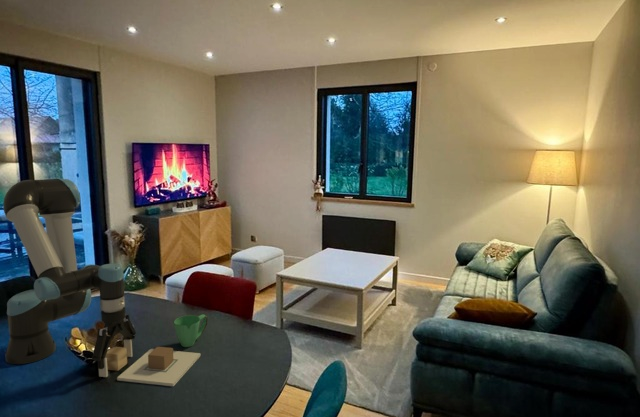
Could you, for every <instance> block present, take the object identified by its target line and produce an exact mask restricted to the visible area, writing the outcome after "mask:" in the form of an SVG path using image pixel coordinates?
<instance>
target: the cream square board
mask: <svg viewBox="0 0 640 417" xmlns="http://www.w3.org/2000/svg"><path fill="white" fill-rule="evenodd" d="M200 357H201V353H200V352H190V351H189V352H188V351H181V350H178V351H177V350H174V348H173V347H165V346H156V347H155V348H150V349H149V350H148V351H146V352H145V353H144V354H142V356H141V357H140V358H138V359H137V360H135V361H134V363H133V364H132V365H130V366H129V367H128V368H126V369H125V370H124V371H123V372H122V373H121V374H119V375H118V376H117V377H116V380H117V381H120V382H129V383H140V384H147V385H158V386H165V387H174V386H175V385H176V384H177V383H178V382H179V381H180V380H181V379H182V377H183V376H184V375H185V374H186V373H187V372H188V371H189V369H190V368H192V366H193V365H194V364H195V362H197V361H198V360H199V358H200Z"/></svg>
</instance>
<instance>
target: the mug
mask: <svg viewBox="0 0 640 417" xmlns="http://www.w3.org/2000/svg"><path fill="white" fill-rule="evenodd" d="M201 321H202V323H201ZM173 326H174V329H175V333H176V336H177V338H178V341H179V343H180V346H181V347H184V348H190V347H193V346H194V345H195V342H196V340H197V339H198V338H199V337H200V336H201V335H202V334H203V333H204V331H205V329H206V328H207V326H208V316H206V315H205V314H200V315H194V314H193V315H190V314H188V315H182V316H179V317H177V318H175V320H174V321H173Z"/></svg>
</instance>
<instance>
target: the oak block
mask: <svg viewBox="0 0 640 417" xmlns="http://www.w3.org/2000/svg"><path fill="white" fill-rule="evenodd" d="M105 358H107V369H108V370H109V371H120V370H121V369H122V368H123V367H125V366H126V365H127V364H128V357H127V349H126V348H124V346H123V347H122V346H112V347H111V348H110V349H108V351H107V353H106V356H105Z"/></svg>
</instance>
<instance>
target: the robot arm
mask: <svg viewBox="0 0 640 417" xmlns="http://www.w3.org/2000/svg"><path fill="white" fill-rule="evenodd" d="M4 195H5V196H4V198H3V202H2V206H3V213H4V215H5V217H6V220H8V221H9V222H12V223H13V226H14V228H15V230H16V233H17V235H18V237H19V239H20V241H21V243H22V245H23V247H24V249H25V251H26V254H27V256H28V258H29V260H30V262H31V263H30V264H31V265H32V267H33V269H34V271H35V274H36V275H37V279H35V281H34V283H33V289H28V290H25V291H22V292H18V293H16V294H15V295H13V296H12V297H11V298H9V299H8V301H7V303H6V308H7V309H6V315H7V321H8V334H9V341H8V345H7V348H6V351H5V354H4V356H5V357H4V358H5V362H6V363H8V364H11V365H25V364H26V365H27V364H29V363H35V362H37V361H41V360H44V359H45V358H47V357H49V356H52V354H53V353H55V351H56V346H57V345H56V342H55V340H54V339H53V336H52V334H51V332H50V330H49V323H51V322H55V321H58V320H61V319H64V318H67V317H71V316H76V315H79V314H80V313H82V312H86V311H87V309H88V308H89V307H90V305H91V302H92V290H91V289H96V290H99V302H100V311H101V312H100V314H101V315H100V316H101V318H100V319H101V322H102V323H103V324H104V326H103V328H98V329H97V332H96V333H97V334H96V335H97V336H96V341H95V345H94V348H93V353H92V357H91V360H92V361H97V369H98V377H100V378H101V377H103V378H107V377H108V376H109V371H108V369H107V358H105V356H106V353H107V351H108V350H109V347H110V346H111V343H112V340H114V338H115V336H116V335H118V334H120V335H121V336H122V337H124V339H123V347H124V348H126V349H127V358H132V357H133V356H134V355H133V340H134V339H135V338H136V336H135V335H136V334H137V332H136V330H135V327H134V326H133V324H132V322H131V319H130V314H126V307H125V306H126V302H125V301H126V299H125V279H124V278H125V274H124V267H123V266H122V264H121V263H106V264H102V265H97V264H87V265H84V266H83V267H81V268H80V269H78V264H77V255H76V248H75V247H76V246H75V239H74V230H73V221H72V220H73V219H72V217H73V215H74V214H75V213H76V210H75V209H76V208H78V207H79V206H80V204H81V194H80V191H79V189H78V187H77V185H76V184H75V183H74V182H73V181H72V180H71V179H67V178H49V179H45V178H44V179H25V180H21V181H18V182H16V183H15V184H13V185H12V186H10V188H9V189H8V190H7V191H6V193H5V194H4ZM39 216H40V217H41V218H43V219H44V221H45V222H44V225H45V227H44V225H43V223H42V220H41V219H40V217H39Z"/></svg>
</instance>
